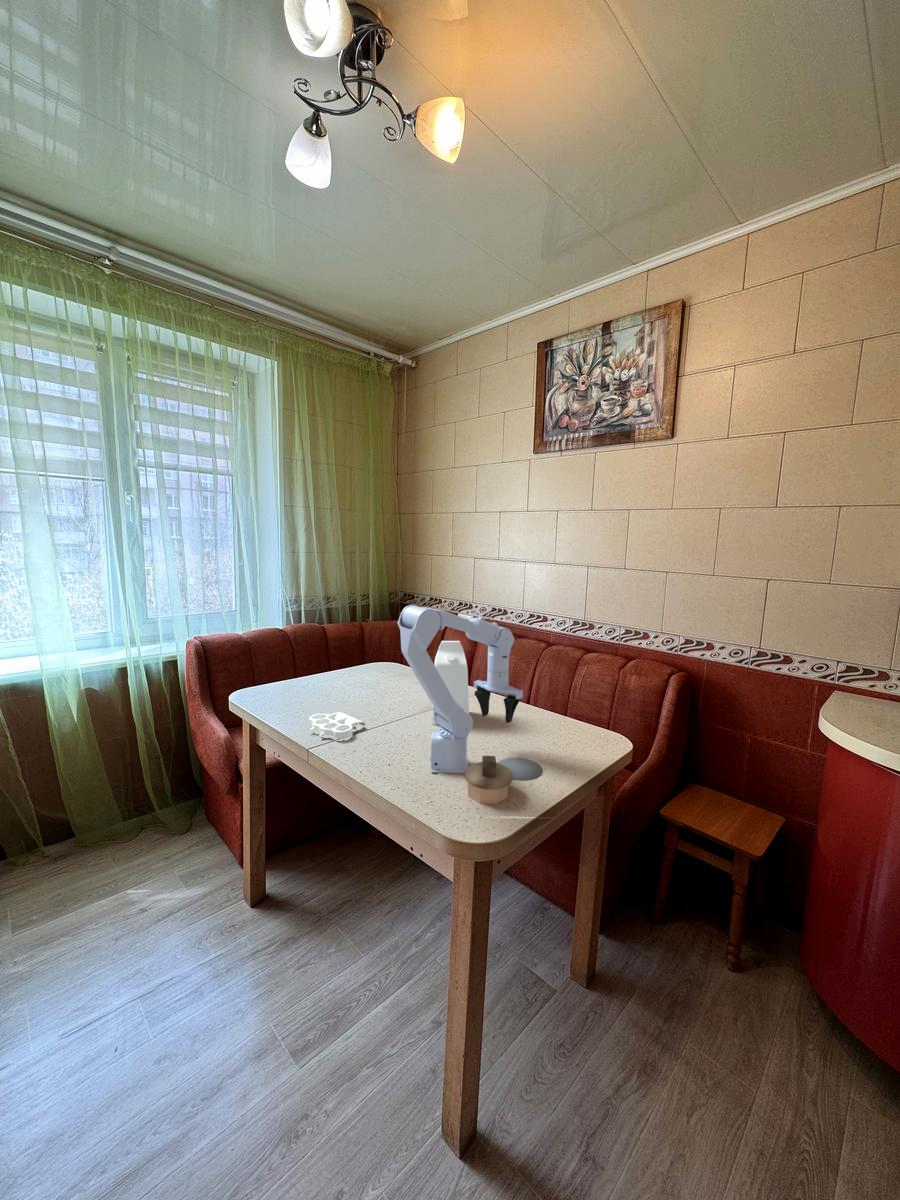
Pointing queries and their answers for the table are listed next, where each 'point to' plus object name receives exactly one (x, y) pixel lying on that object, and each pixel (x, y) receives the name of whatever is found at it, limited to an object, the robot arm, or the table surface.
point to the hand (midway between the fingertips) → (496, 718)
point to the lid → (488, 774)
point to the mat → (522, 768)
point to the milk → (453, 672)
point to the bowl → (487, 794)
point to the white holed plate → (334, 724)
